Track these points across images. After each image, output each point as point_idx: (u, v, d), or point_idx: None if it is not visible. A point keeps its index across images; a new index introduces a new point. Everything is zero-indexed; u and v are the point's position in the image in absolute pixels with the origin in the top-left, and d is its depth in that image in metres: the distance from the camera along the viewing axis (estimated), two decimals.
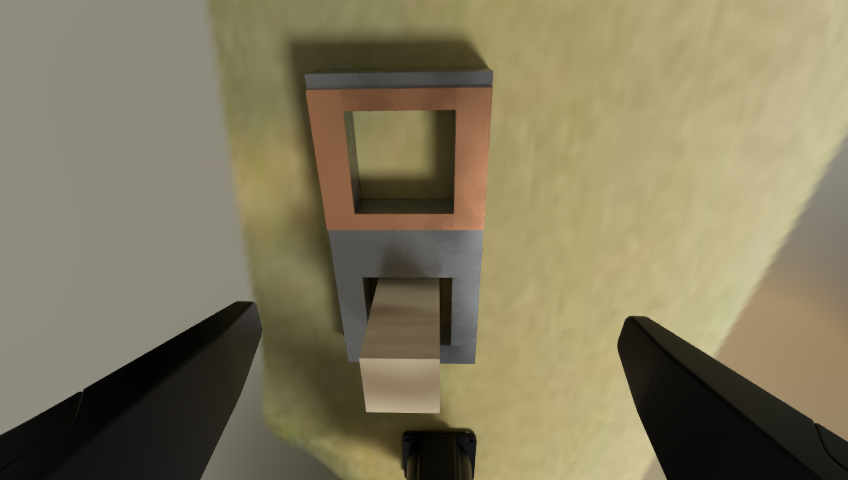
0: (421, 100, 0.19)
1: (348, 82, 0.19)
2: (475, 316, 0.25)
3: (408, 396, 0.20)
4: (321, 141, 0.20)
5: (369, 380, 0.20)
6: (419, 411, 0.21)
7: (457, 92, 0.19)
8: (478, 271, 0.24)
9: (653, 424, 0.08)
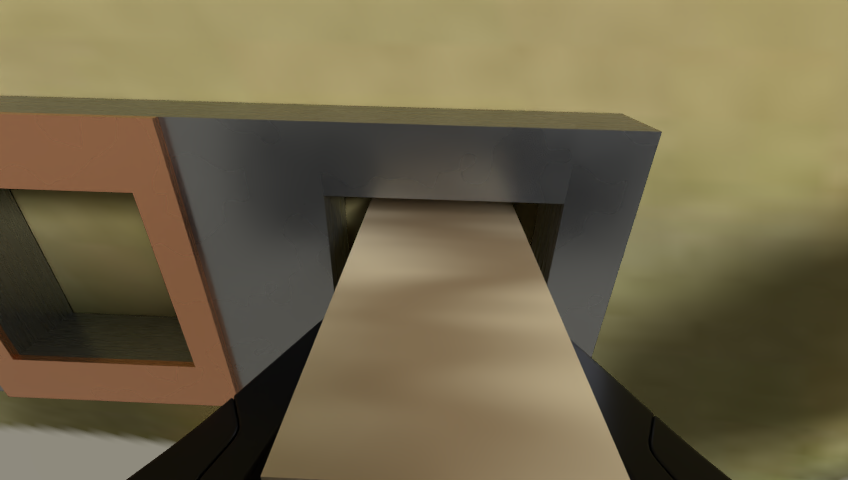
0: None
1: None
2: (457, 132, 0.08)
3: None
4: (78, 390, 0.12)
5: None
6: None
7: None
8: (295, 126, 0.08)
9: None
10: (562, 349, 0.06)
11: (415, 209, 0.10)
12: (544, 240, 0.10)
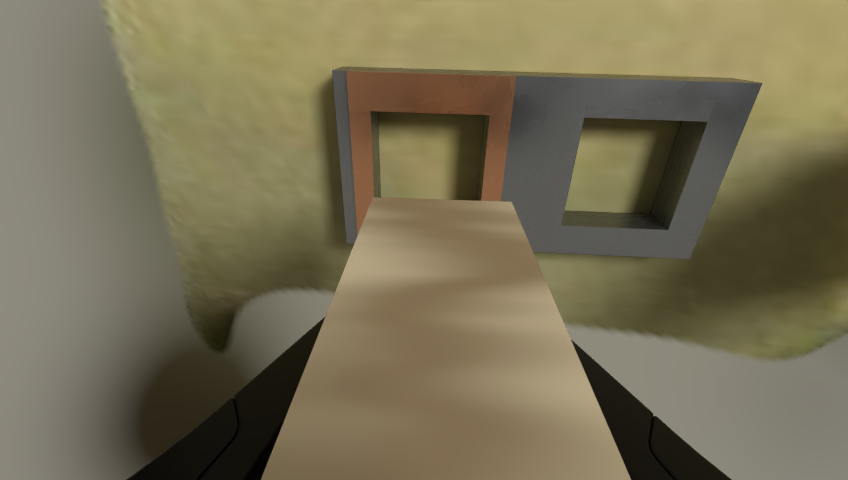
0: (362, 146, 0.19)
1: (351, 209, 0.21)
2: (661, 83, 0.17)
3: None
4: None
5: None
6: None
7: (354, 108, 0.18)
8: (581, 80, 0.17)
9: None
10: (563, 351, 0.06)
11: (416, 210, 0.10)
12: (686, 147, 0.19)
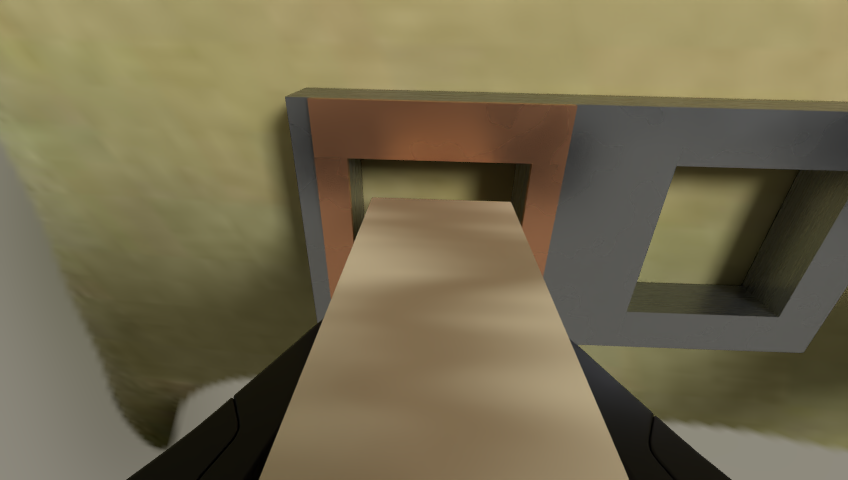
0: (337, 208, 0.13)
1: (323, 292, 0.14)
2: (803, 116, 0.11)
3: None
4: None
5: None
6: None
7: (323, 154, 0.12)
8: (678, 111, 0.11)
9: None
10: (562, 351, 0.06)
11: (415, 210, 0.10)
12: (815, 204, 0.13)
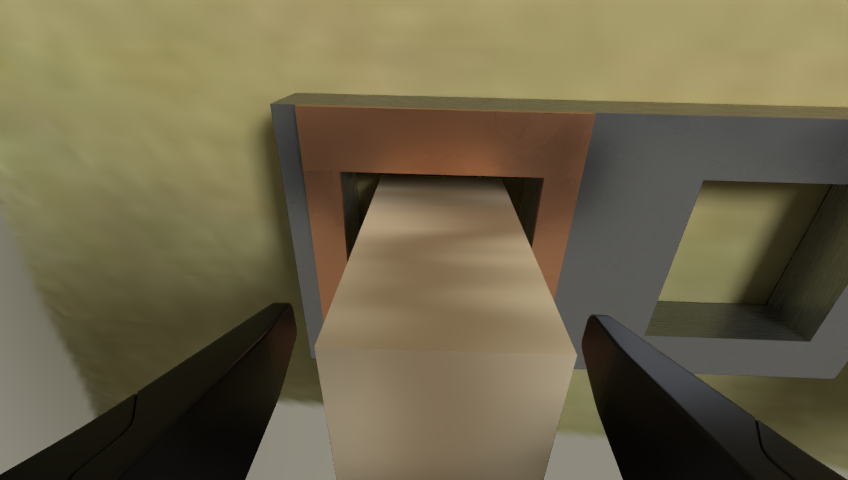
0: (329, 226, 0.11)
1: (315, 314, 0.13)
2: (847, 125, 0.10)
3: (482, 424, 0.07)
4: None
5: None
6: (557, 404, 0.06)
7: (313, 166, 0.11)
8: (708, 120, 0.10)
9: (610, 422, 0.08)
10: (534, 277, 0.08)
11: (419, 185, 0.12)
12: None
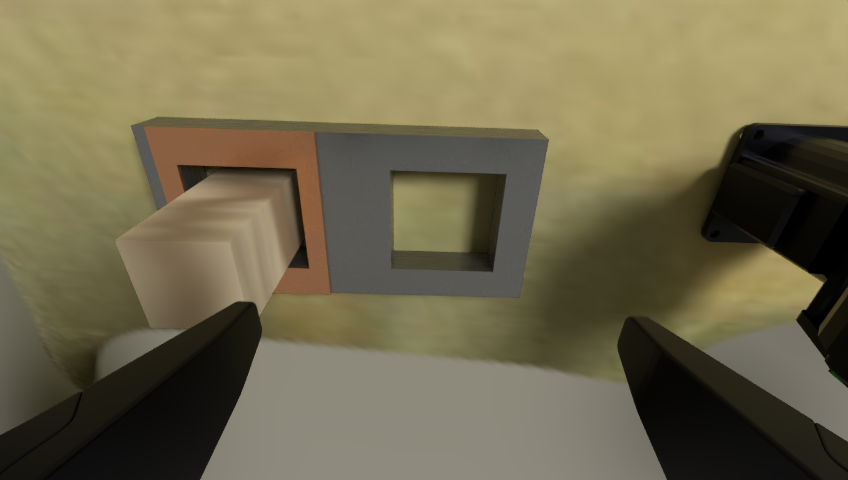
0: (176, 197, 0.19)
1: None
2: (455, 139, 0.18)
3: (204, 281, 0.14)
4: None
5: (186, 321, 0.15)
6: (233, 269, 0.14)
7: (162, 161, 0.18)
8: (379, 136, 0.18)
9: (653, 424, 0.08)
10: (248, 217, 0.15)
11: (239, 173, 0.20)
12: (499, 195, 0.20)
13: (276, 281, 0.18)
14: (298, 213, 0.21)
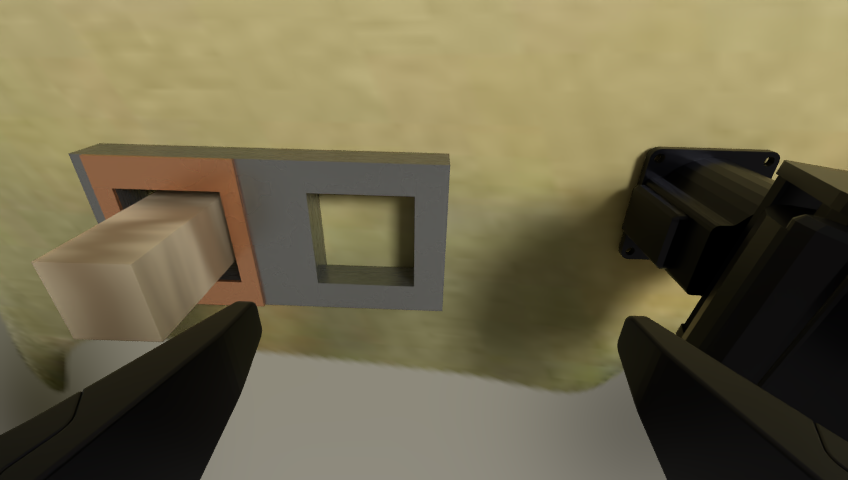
0: None
1: None
2: (363, 165, 0.19)
3: (114, 298, 0.16)
4: None
5: (104, 333, 0.17)
6: (138, 287, 0.16)
7: (99, 185, 0.20)
8: (292, 163, 0.19)
9: (653, 424, 0.08)
10: (160, 239, 0.17)
11: (174, 194, 0.21)
12: None
13: (199, 295, 0.20)
14: None
